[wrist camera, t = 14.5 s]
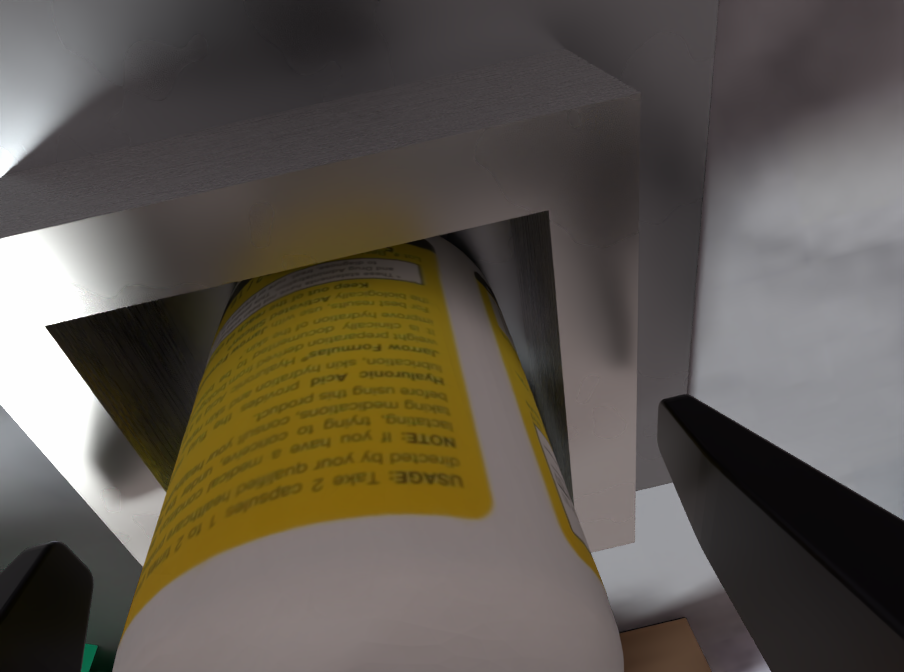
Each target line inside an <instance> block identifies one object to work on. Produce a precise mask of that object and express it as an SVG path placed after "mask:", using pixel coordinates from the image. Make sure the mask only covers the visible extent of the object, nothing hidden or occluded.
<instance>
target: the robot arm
mask: <svg viewBox="0 0 904 672" xmlns="http://www.w3.org/2000/svg"><path fill="white" fill-rule="evenodd" d="M657 443H658V447H659V451H660V453H661V456H662V458H663V460H664V463H665V465H666V467H667V470H668V472H669V474H670V477H671V479H672V481H673V484H674V486H675V488H676V491H677V493H678V496H679V498H680V500H681V503H682V505H683V507H684V510H685V512H686V514H687V517H688V519H689V521H690V524H691V526H692V528H693V531H694V533H695V535H696V537H697V539H698V542H699V544H700V546H701V548H702V550H703V551H704V553H705V555H706V557H707V559H708V561H709V563H710V564H711V566H712V568H713V570H714V571H715V573H716V575H717V577H718V578H719V580H720V582H721V584H722V585H723V587H724V589H725V591H726V593H727V594H728V596H729V598H730V600H731V601H732V603H733V605H734V607H735V608H736V610H737V612H738V614H739V615H740V617H741V619H742V621H743V623H744V624H745V626H746V628H747V630H748V631H749V633H750V635H751V637H752V638H753V640H754V642H755V644H756V645H757V647H758V649H759V651H760V652H761V654H762V656H763V658H764V660H765V661H766V663H767V665H768V667H769V668H770V670H771V672H904V520H902V519H900V518H899V517H897V516H895V515H894V514H892V513H890V512H888V511H887V510H885V509H883V508H882V507H880V506H878V505H877V504H875V503H873V502H871V501H870V500H868V499H866V498H865V497H863V496H861V495H859V494H858V493H856V492H854V491H853V490H851V489H849V488H848V487H846V486H844V485H842V484H841V483H839V482H837V481H836V480H834V479H832V478H831V477H829V476H827V475H825V474H824V473H822V472H820V471H819V470H817V469H815V468H813V467H812V466H810V465H808V464H807V463H805V462H803V461H802V460H800V459H798V458H796V457H795V456H793V455H791V454H790V453H788V452H786V451H785V450H783V449H781V448H779V447H778V446H776V445H774V444H773V443H771V442H769V441H767V440H766V439H764V438H762V437H761V436H759V435H757V434H756V433H754V432H752V431H750V430H749V429H747V428H745V427H744V426H742V425H740V424H739V423H737V422H735V421H733V420H732V419H730V418H728V417H727V416H725V415H723V414H721V413H720V412H718V411H716V410H715V409H713V408H711V407H710V406H708V405H706V404H704V403H703V402H701V401H699V400H698V399H696V398H694V397H692V396H690V395H687V394H683V395H678V396H674V397H670V398H665V399H663V400H661V401H660V403H659V406H658V423H657ZM92 592H93V577H92V574H91V572H90V570H89V569H88V567H87V566H86V565H85V564H84V563H83V562H82V561H81V560H80V559H79V558H78V557H77V556H76V555H75V554H74V553H73V552H72V551H71V550H70V549H69V548H68V547H67V546H66V545H65V544H64V543H62V542H59V541H52V542H48V543H43V544H39V545H35V546H32V547H29V548H27V549H26V550H24V551H23V552H22V553H21V554H20V555H19V556H18V557H17V558H16V559H15V560H14V561H13V562H12V563H11V564H10V565H9V566H8V567H7V568H5V569H4V570H3V571H2V572H1V573H0V672H81V669H82V662H83V655H84V648H85V641H86V634H87V627H88V620H89V613H90V606H91V599H92Z"/></svg>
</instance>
